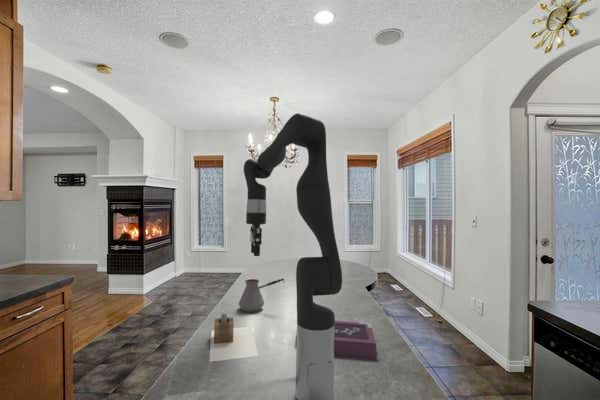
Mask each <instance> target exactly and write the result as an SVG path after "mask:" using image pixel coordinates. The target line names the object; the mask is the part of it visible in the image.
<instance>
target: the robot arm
mask: <svg viewBox="0 0 600 400" xmlns="http://www.w3.org/2000/svg"><path fill="white" fill-rule="evenodd" d="M326 131H327V130H326V126H325V124H324V122H322V121H321V120H320V119H318V118H316V117H313V116H311V115H308V114H305V113H302V112H297V113H294V114H293V115H292V116H291V117H290V118H288V120H287V121H286V123H285V124H284V126H282V128H281V129H280V131H279V133H278V134H277V136H276V137H275V138H274V139H273V141H272V142H271V144H269V145H268V147H266V148H265V149H264V150H263V151H262V152H261V153H260V154H259V155H258V158H257V159H253V158H252V159H251V158H248V159H247V160H246V161H244V164H243V174H244V179H245V182H246V187H247V199H246V200H247V202H246V216H245V217H246V218H245V221H246V222H245V223H246V224H247V225H250V229H249V232H250V234H249V241H250V243H251V244H250V253H252V254H253V256H254V257H259V256H261V254H260V253H261V245H262V243H263V241H262V237H263V236H262V235H263V234H262V231H263V228H262V227H261V225H265V224H267V187H266V186H265V185H264V184H262V183H259V182H257V179H260V180H262V179H263V180H264V179H268V178H269V177H271V175H272V173H273V171H274V169H275V168H277V167H278V166H279V165H280V164H282V163H283V162H284V159H285V157H286V154H287V150H286V149H287V147H288V146H290V145H295V146H298V147H302V148H305V149H306V150H307V155H308V161H307V165H306V167H305V169H304V171H303V172H302V174H301V175H300V177H299V179H298V182H297V184H296V190H295V191H296V204H297V205H296V206H297V210H298V214H299V215H300V216H301V218H302V219H303V221H304V222H305V224H306V225H307V226H308V228H309V230H311V231H312V233H313V234H314V236H315V238H316V240H317V243H318V245H319V249H320V252H321V256H308V257H307V256H306V257H305V256H304V257H300V258H299V259H298V261H297V264H296V267H295V268H296V270H295V271H296V272H295V281H296V283H295V284H296V285H295V286H296V335H297V346H296V345H295V347H296V350H295V352H296V353H295V355H296V356H295V357H296V358H295V360H296V361H295V398H296V400H297V399H298V400H334V393H335V392H334V391H335V389H334V387H335V385H334V384H335V354H334V331H335V321H336V320H335V318H336V317H335V312H334V311H333V310H332V309H330V308H329V307H327V306H324V305H321V304H317V303H315V302H314V296H315V297H316V296H317V297H318V296H330V295H331V296H332V295H338V294H339V293H340V292H341V290H342V287H343V271H342V264H341V259H340V254H339V250H338V245H337V239H336V236H335V227H334V219H333V210H332V198H331V197H332V196H331V190H330V184H329V176H328V164H327V163H328V162H327V133H326Z"/></svg>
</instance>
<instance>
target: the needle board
mask: <svg viewBox="0 0 600 400" xmlns="http://www.w3.org/2000/svg"><path fill="white" fill-rule="evenodd" d="M227 317H228V315H227V313H225V312H223V313H221V315H220V318H221V323H225V322H227ZM210 332H211V333H210V334H211V335H210V346H209V347H210V348H209V349H210V350H209V359H208V360H209V361H208V362H209V363H212V362H221V361H229V360H236V359H246V358H253V357H254V358H255V357H259V355H260V354H259V352H258V347H257V345H256V340H255V337H254V333H253V330H252V327H251V326H245V327H233V342H229V343H219V344H214V329H213V330H211V331H210Z"/></svg>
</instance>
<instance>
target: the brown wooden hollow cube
mask: <svg viewBox="0 0 600 400" xmlns="http://www.w3.org/2000/svg"><path fill="white" fill-rule="evenodd" d="M234 325H235V324H234V317H233V316H227V322H225V323H221V317H215V318H214V329H213V330H214V344H219V343H229V342H233V328H235V327H234Z"/></svg>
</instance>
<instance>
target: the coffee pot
mask: <svg viewBox="0 0 600 400" xmlns="http://www.w3.org/2000/svg"><path fill="white" fill-rule="evenodd" d="M244 282H245V284H246V285H245V288H244V291H243V293H242V295H241V297H240V299H239V301H238V306H239V308H240V309H241V310H242V311H243V312H246V313H255V312H259V311H260V310H261V309H263V308H262V307H264V305H265V300H264V298H263V295H262V293H261V290H260V289H262V288H264V287H268V286H272V285H275V284H278V283H280V282H283V284H285V282H286V281H285V279H284V278H280V279H278V280H272V281H270V282H268V283H266V284H263V285H261V286H259V282H260V280H259V279H255V278H254V279H253V278H250V279H246V280H245V281H244Z"/></svg>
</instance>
